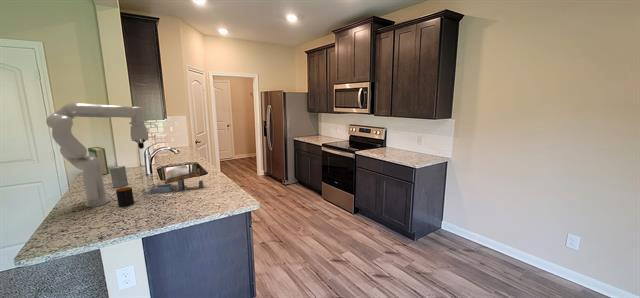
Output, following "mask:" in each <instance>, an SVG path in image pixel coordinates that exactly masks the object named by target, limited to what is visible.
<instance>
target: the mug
mask: <svg viewBox="0 0 640 298" xmlns="http://www.w3.org/2000/svg"><path fill="white" fill-rule="evenodd" d="M115 192H116V200H117V206H118V207H119V208H126V207H130V206H133V205H134V204H135V201H134V200H135V199H134V194H133V193H134V192H133V188H132V187H130V186H124V187H122V188H117V189H116V190H115Z"/></svg>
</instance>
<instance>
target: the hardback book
mask: <svg viewBox="0 0 640 298" xmlns="http://www.w3.org/2000/svg"><path fill="white" fill-rule="evenodd" d="M87 153H88V156H94V157H97V158H98V159H100V161H101V163H102V176H103V175H109V174H110V171H109V167H108V160H107V155H106V154H107V153H106V150H105V148H104V147H101V146H94V147H87Z"/></svg>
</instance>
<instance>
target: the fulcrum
mask: <svg viewBox="0 0 640 298" xmlns="http://www.w3.org/2000/svg"><path fill="white" fill-rule="evenodd" d="M187 186H189V185H188V184H187V185H186V184H185V179H184V180H177V189H175V193H179V192H178V191H183V192H186V190H187V188H188V187H187ZM185 189H186V190H185Z"/></svg>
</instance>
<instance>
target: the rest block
mask: <svg viewBox="0 0 640 298" xmlns="http://www.w3.org/2000/svg"><path fill="white" fill-rule="evenodd" d="M202 187H203V188H204V181H203V180H199V181H198V188H199V189H203V188H202Z"/></svg>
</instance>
